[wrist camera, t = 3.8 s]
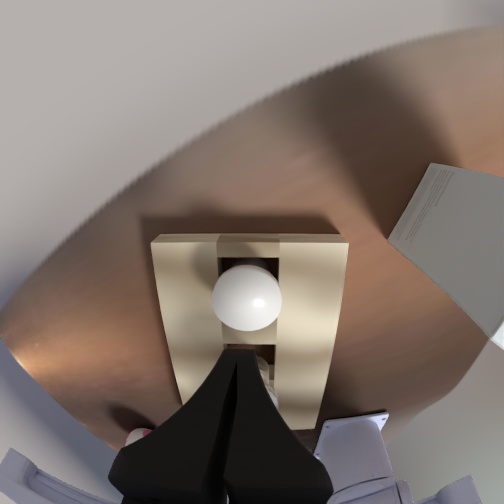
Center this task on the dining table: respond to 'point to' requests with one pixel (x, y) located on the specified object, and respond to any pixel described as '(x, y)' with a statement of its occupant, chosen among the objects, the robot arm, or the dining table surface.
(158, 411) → the dining table surface
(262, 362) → the dial
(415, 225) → the supplement box
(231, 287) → the knob
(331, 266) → the board
